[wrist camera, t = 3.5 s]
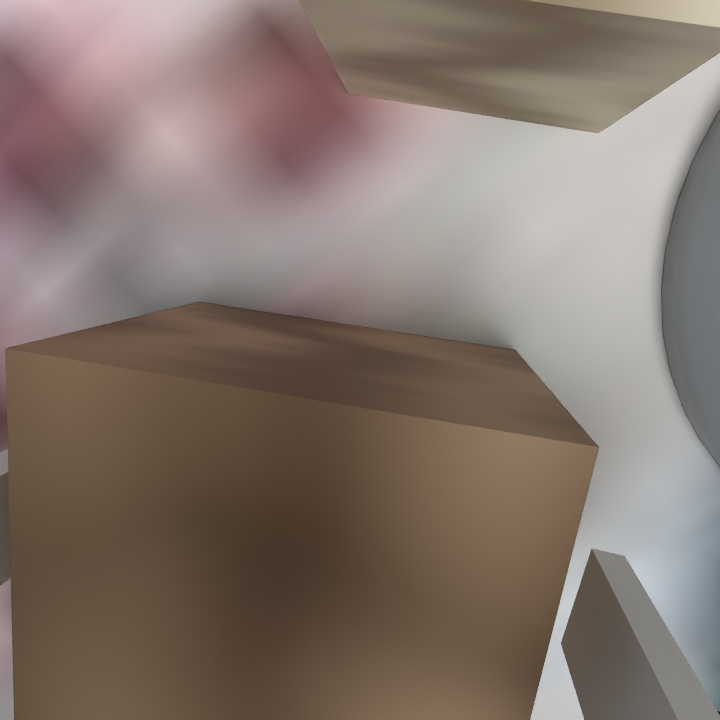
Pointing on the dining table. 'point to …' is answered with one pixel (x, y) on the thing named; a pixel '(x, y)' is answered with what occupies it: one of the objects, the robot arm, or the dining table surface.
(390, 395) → the block
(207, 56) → the dining table surface
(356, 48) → the beige cube
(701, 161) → the pad
